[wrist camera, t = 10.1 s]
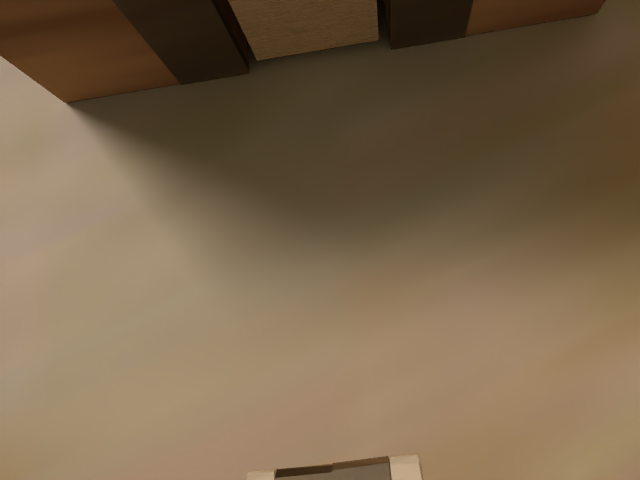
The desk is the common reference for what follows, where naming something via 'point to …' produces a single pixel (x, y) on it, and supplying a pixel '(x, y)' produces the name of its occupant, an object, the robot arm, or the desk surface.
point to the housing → (206, 37)
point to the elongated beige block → (304, 24)
